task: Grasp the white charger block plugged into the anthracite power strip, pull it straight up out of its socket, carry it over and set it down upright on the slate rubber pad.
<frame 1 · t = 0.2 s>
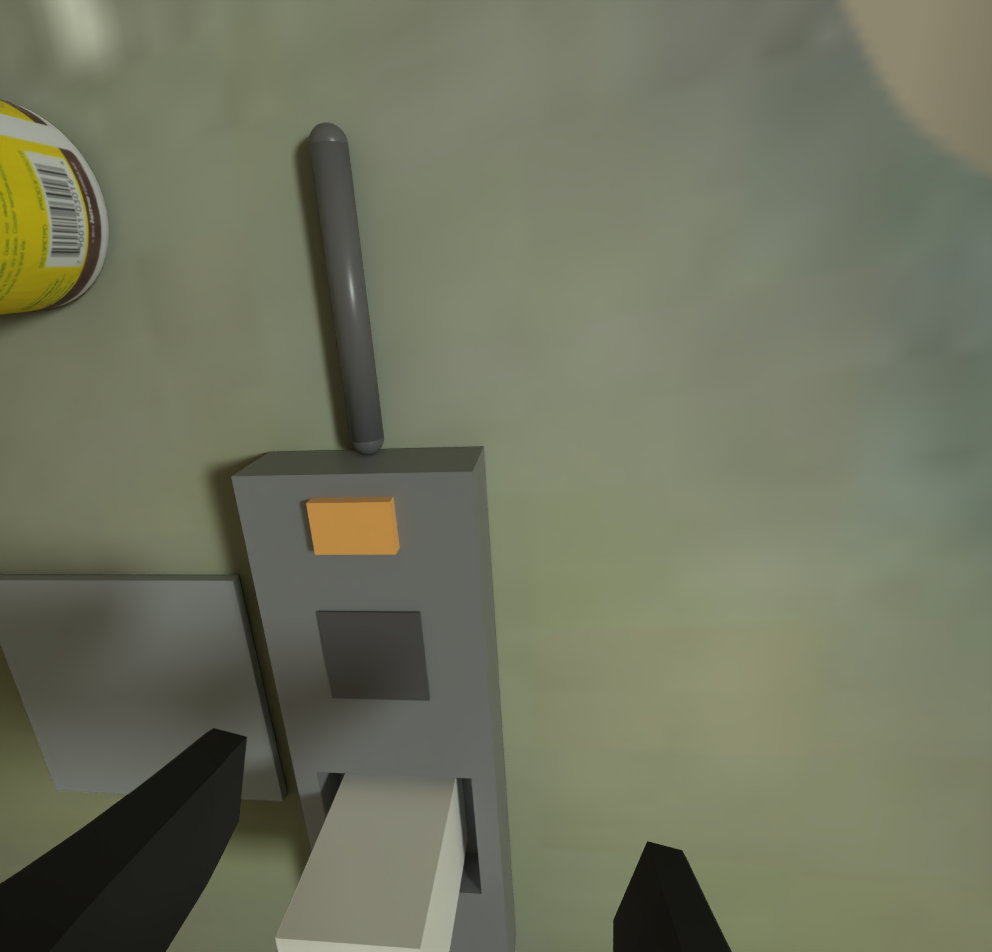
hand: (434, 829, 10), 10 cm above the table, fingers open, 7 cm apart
pad: (143, 689, 23), on the table
charger: (411, 796, 23), point 1 cm above the table, touching power strip
supplement bottle: (36, 213, 18), on the table
power strip: (410, 728, 23), on the table
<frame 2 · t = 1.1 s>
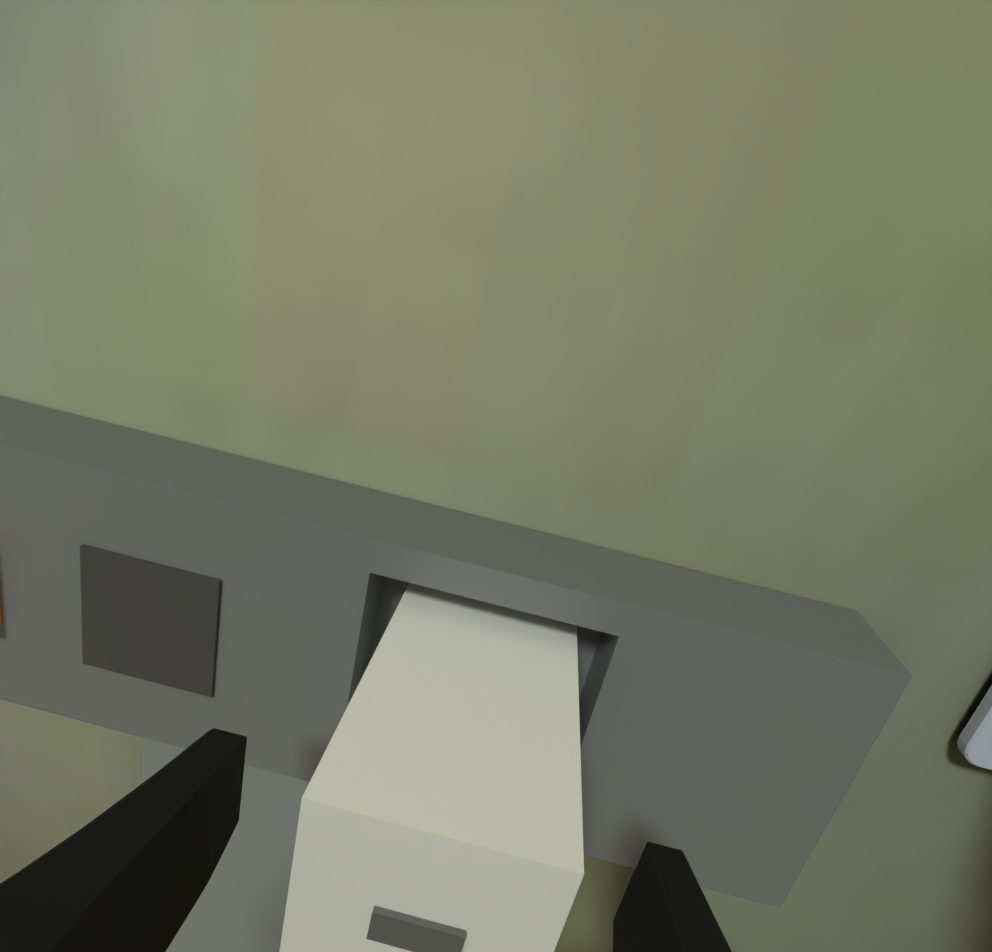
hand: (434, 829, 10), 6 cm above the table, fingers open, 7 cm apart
pad: (295, 875, 19), on the table
charger: (477, 661, 15), point 1 cm above the table, touching power strip
power strip: (390, 618, 16), on the table
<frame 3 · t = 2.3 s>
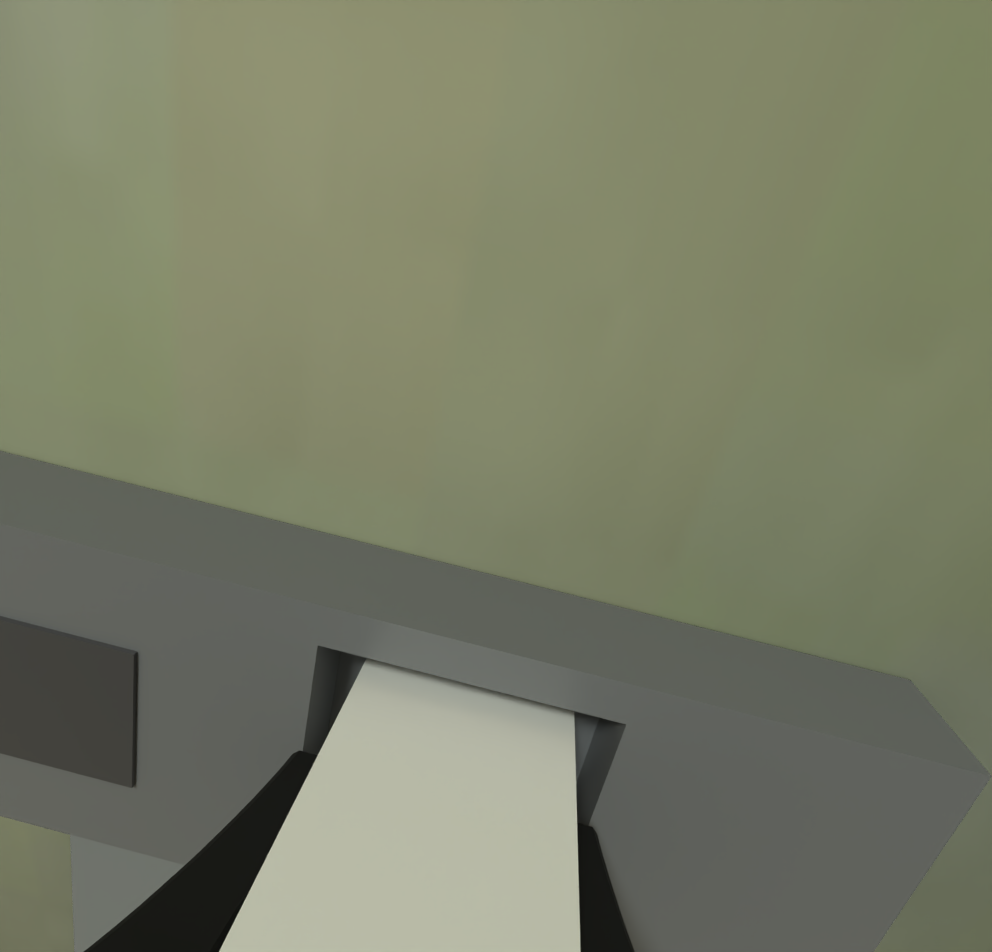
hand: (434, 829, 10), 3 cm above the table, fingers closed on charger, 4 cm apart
charger: (455, 737, 13), point 1 cm above the table, touching gripper, power strip
power strip: (353, 682, 13), on the table
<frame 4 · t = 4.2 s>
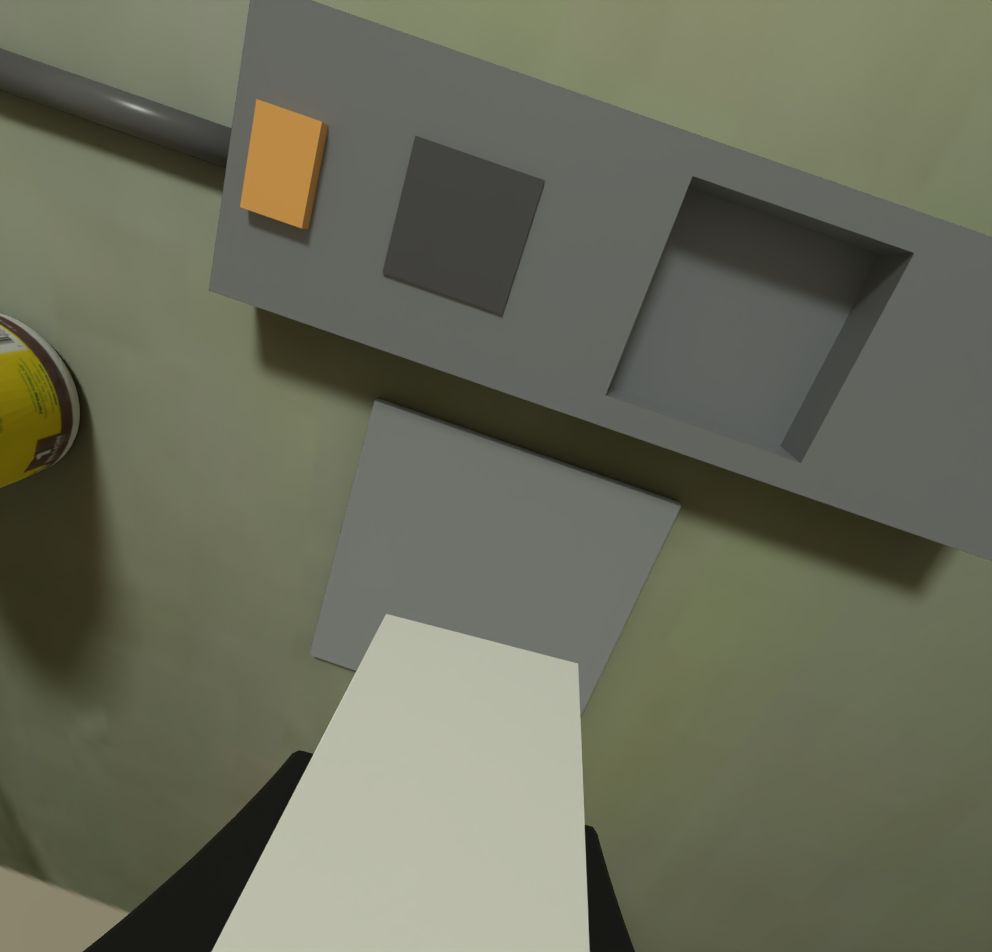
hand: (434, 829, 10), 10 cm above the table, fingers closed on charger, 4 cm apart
pad: (481, 581, 21), on the table
charger: (461, 715, 13), point 8 cm above the table, touching gripper
supplement bottle: (18, 390, 20), on the table
power strip: (642, 291, 17), on the table
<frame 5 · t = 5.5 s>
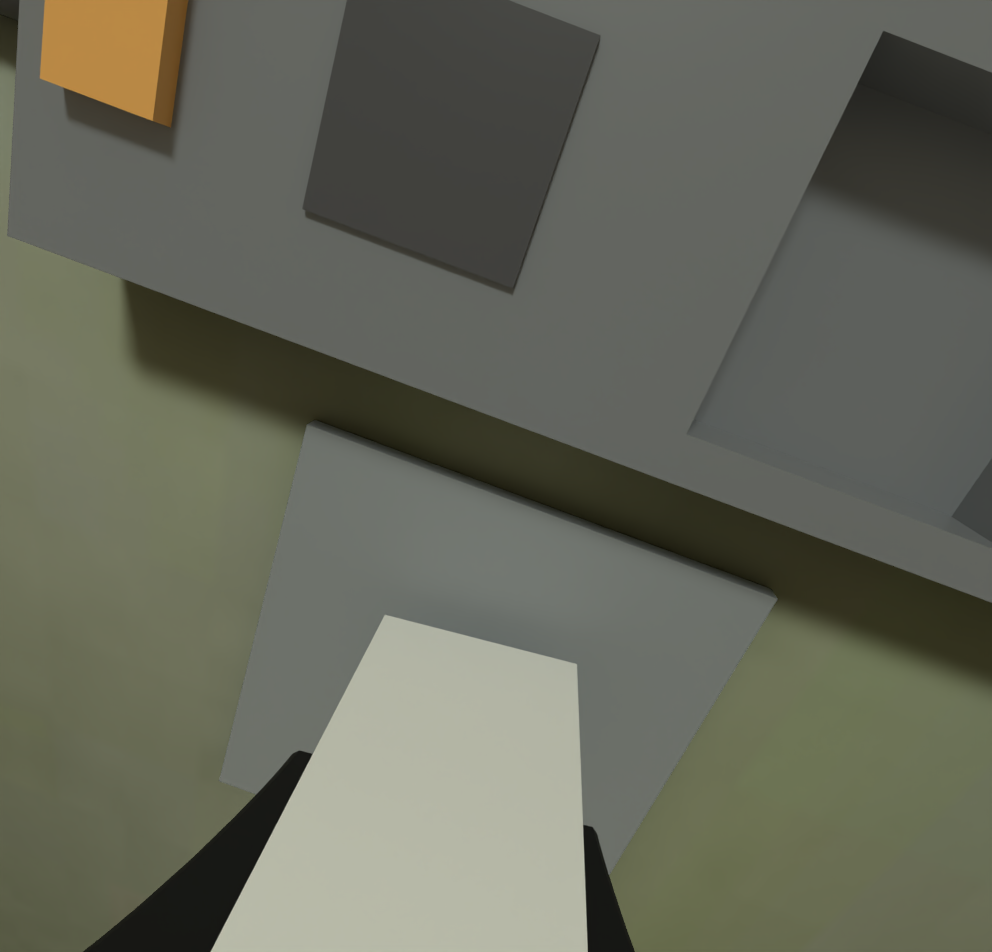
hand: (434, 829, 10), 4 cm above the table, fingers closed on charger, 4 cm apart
pad: (467, 689, 14), on the table
charger: (460, 716, 13), point 1 cm above the table, touching gripper
power strip: (738, 262, 10), on the table
when the fingers open (3 cm above the table, at t = 6.4 s): charger stays where it is, resting on pad.
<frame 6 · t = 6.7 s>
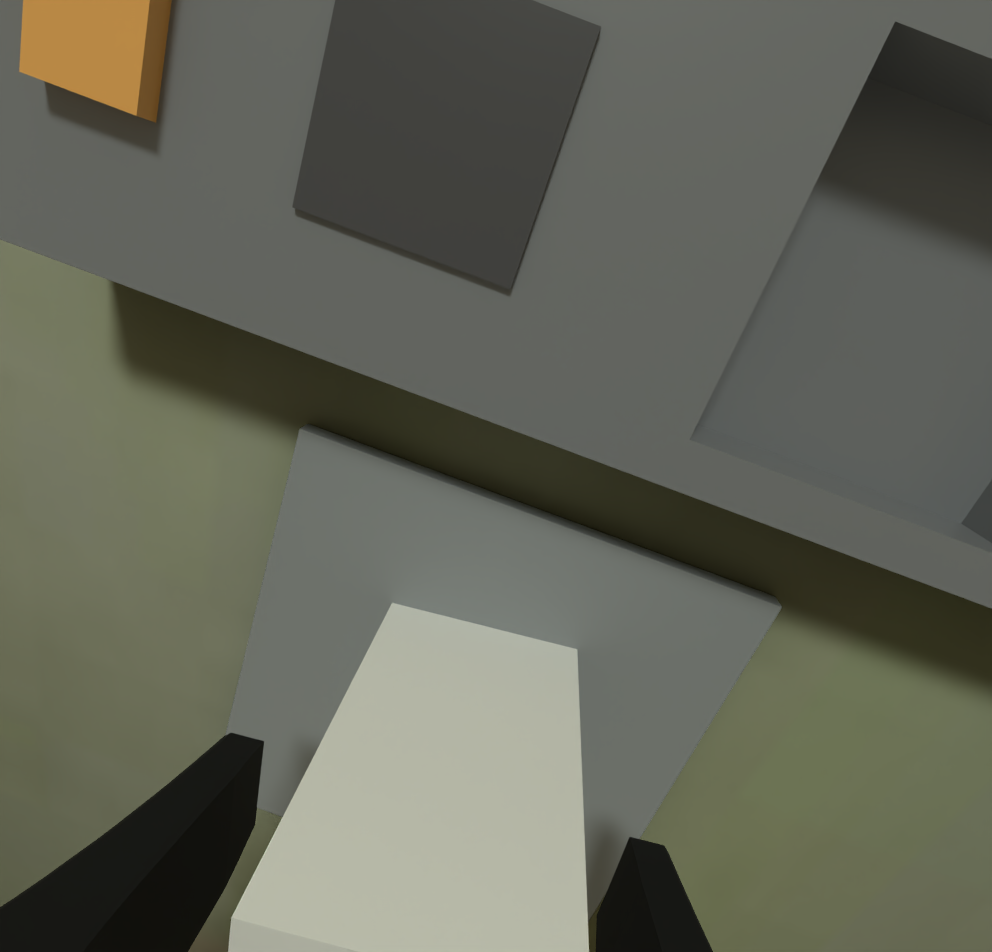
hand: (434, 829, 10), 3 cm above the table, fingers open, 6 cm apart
pad: (464, 698, 14), on the table
charger: (465, 700, 13), resting on pad
power strip: (742, 262, 10), on the table
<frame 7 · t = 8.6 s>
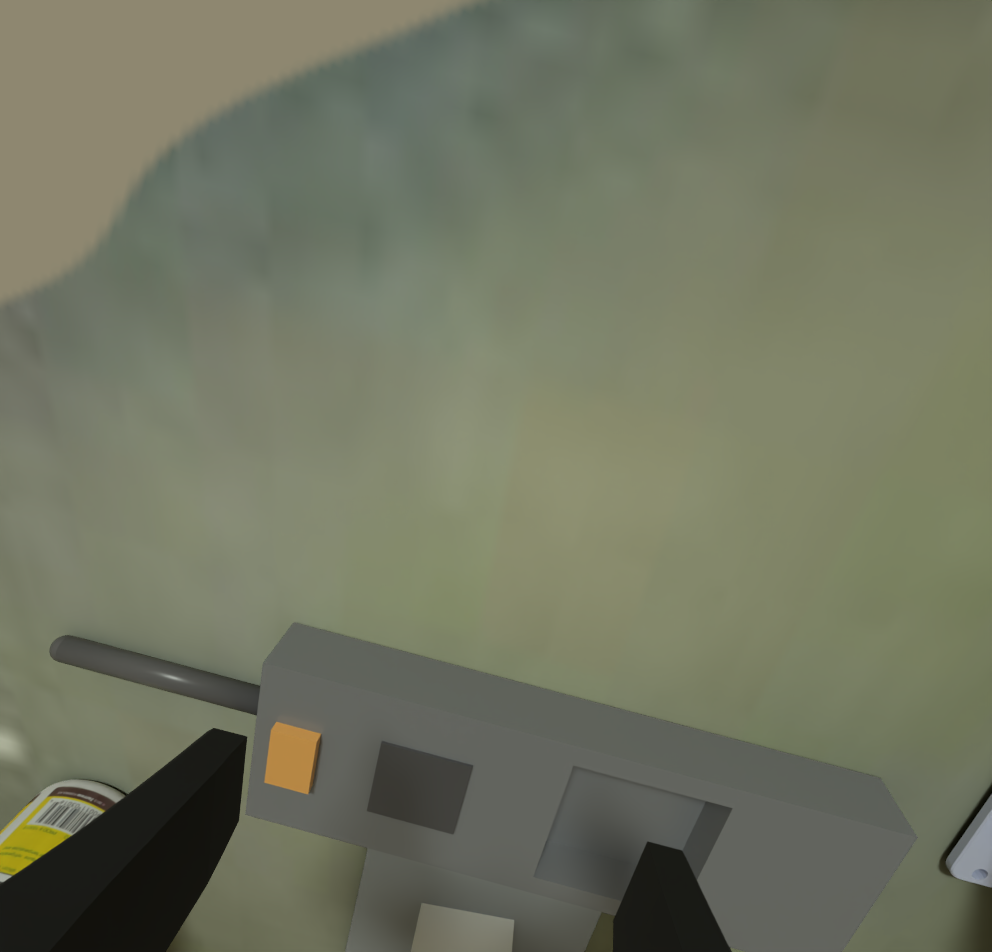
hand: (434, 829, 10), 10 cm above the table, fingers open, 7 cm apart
pad: (463, 937, 27), on the table
charger: (463, 943, 26), resting on pad
supplement bottle: (103, 816, 27), on the table
power strip: (558, 770, 23), on the table
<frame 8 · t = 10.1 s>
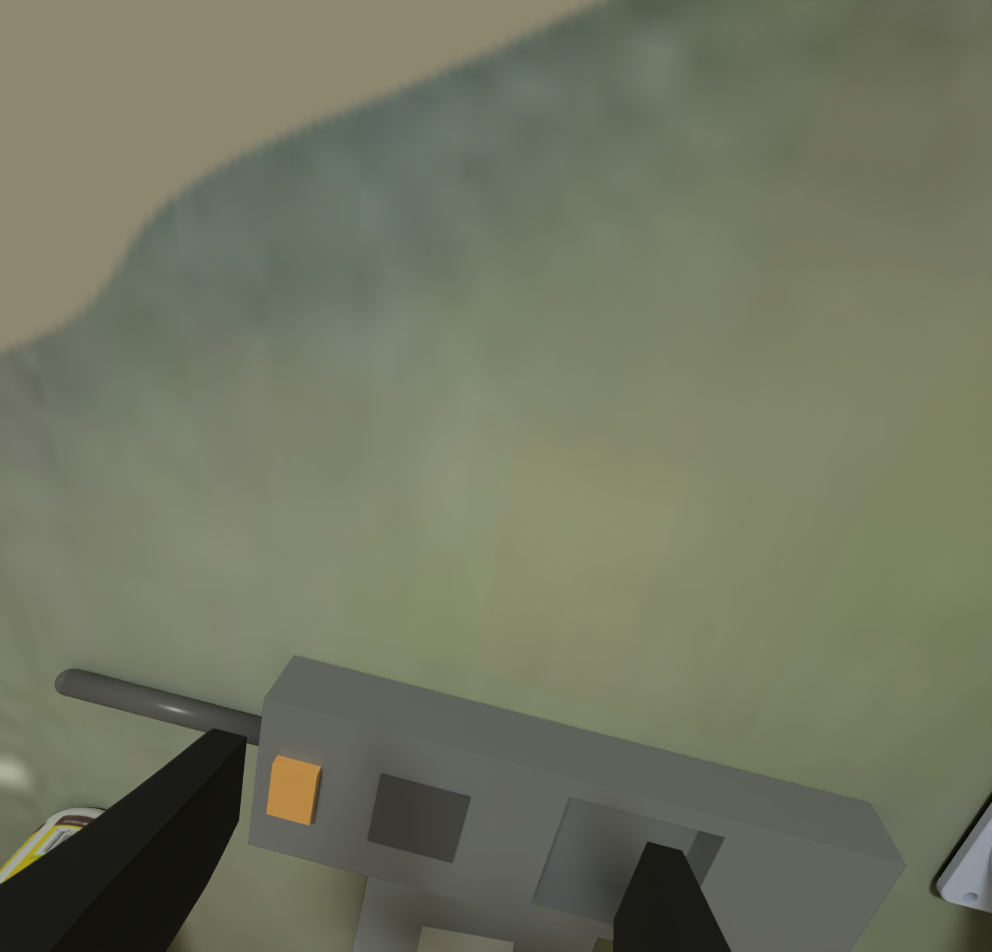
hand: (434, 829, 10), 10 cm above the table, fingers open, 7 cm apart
supplement bottle: (109, 842, 27), on the table
power strip: (555, 797, 23), on the table
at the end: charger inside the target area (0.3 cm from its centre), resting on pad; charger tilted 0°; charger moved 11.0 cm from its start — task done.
